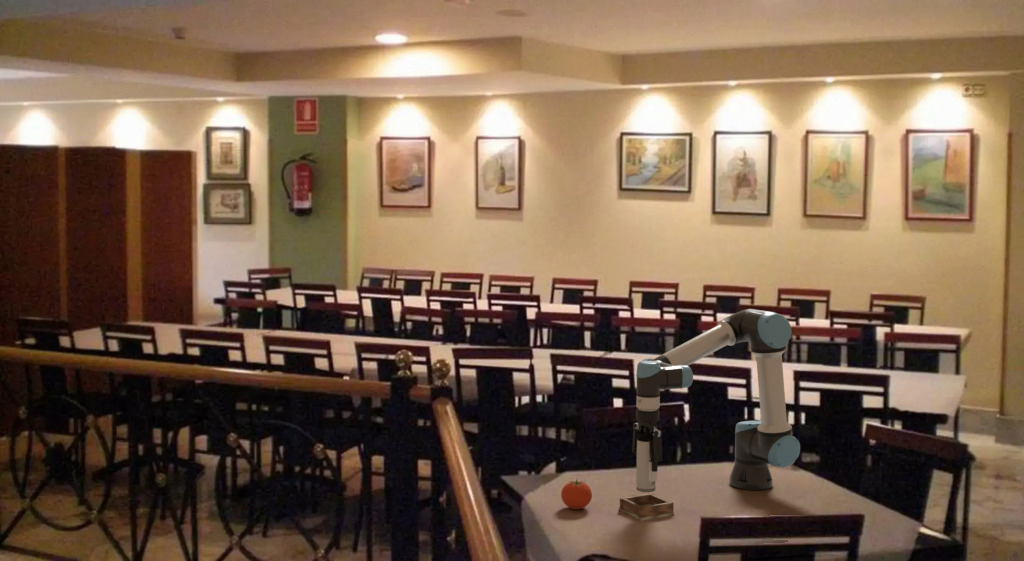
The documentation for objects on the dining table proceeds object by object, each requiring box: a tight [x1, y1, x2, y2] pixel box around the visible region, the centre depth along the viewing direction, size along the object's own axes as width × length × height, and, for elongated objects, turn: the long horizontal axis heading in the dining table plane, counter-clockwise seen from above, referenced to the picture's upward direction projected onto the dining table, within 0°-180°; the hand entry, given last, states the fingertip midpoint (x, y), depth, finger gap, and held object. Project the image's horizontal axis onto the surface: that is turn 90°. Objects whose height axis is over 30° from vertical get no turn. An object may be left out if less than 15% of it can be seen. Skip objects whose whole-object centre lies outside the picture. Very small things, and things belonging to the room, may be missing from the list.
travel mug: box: [635, 431, 656, 493], centre depth 342 cm, size 6×7×20 cm
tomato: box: [560, 478, 593, 510], centre depth 347 cm, size 10×10×10 cm
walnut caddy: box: [618, 492, 675, 522], centre depth 343 cm, size 13×13×4 cm
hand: (646, 478), depth 342 cm, fingers closed on travel mug, 6 cm apart
